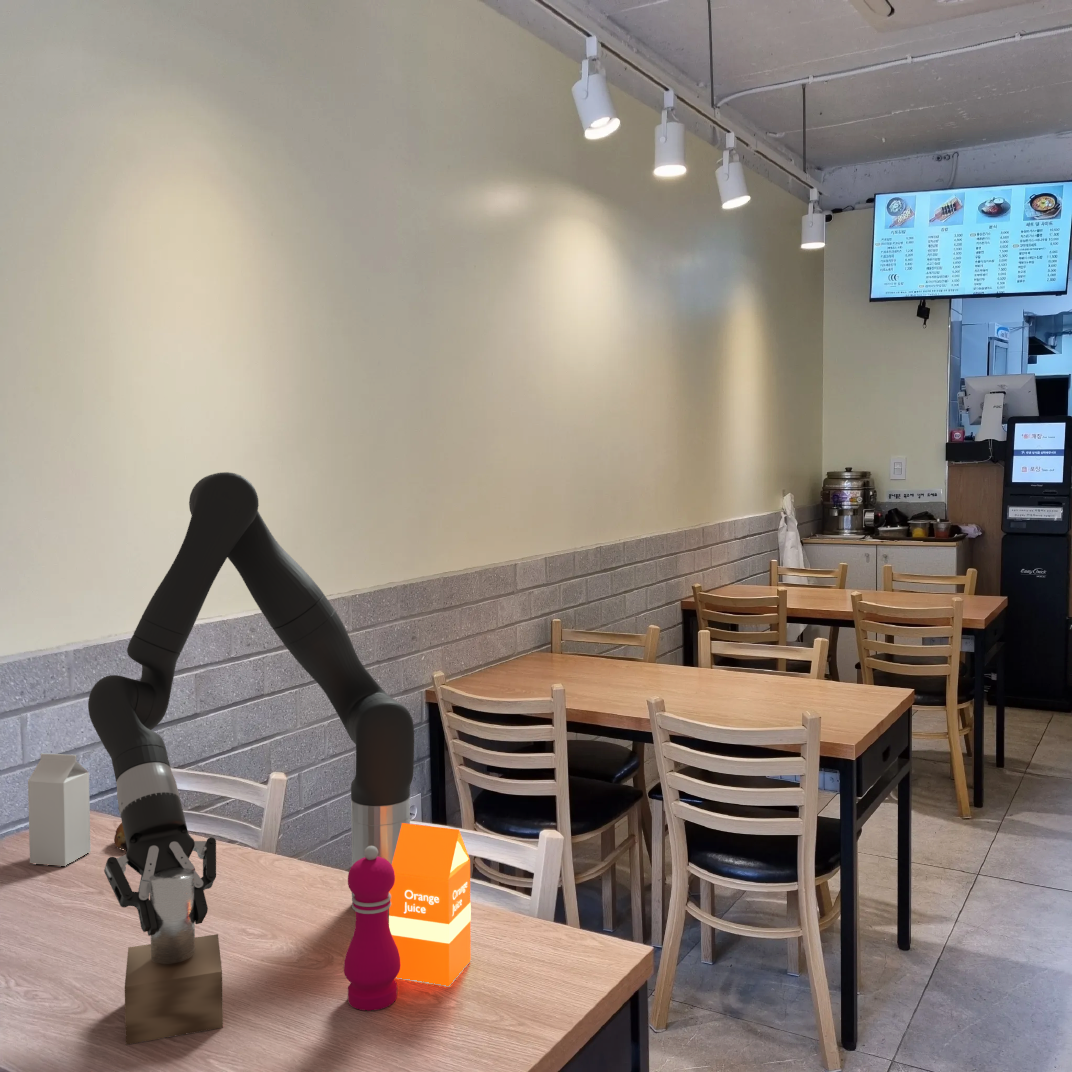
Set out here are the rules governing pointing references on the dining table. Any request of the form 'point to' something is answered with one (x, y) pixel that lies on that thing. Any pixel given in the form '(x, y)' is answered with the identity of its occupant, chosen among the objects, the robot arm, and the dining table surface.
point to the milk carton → (58, 810)
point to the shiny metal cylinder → (173, 915)
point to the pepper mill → (371, 935)
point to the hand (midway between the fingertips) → (177, 926)
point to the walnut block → (173, 993)
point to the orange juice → (431, 904)
